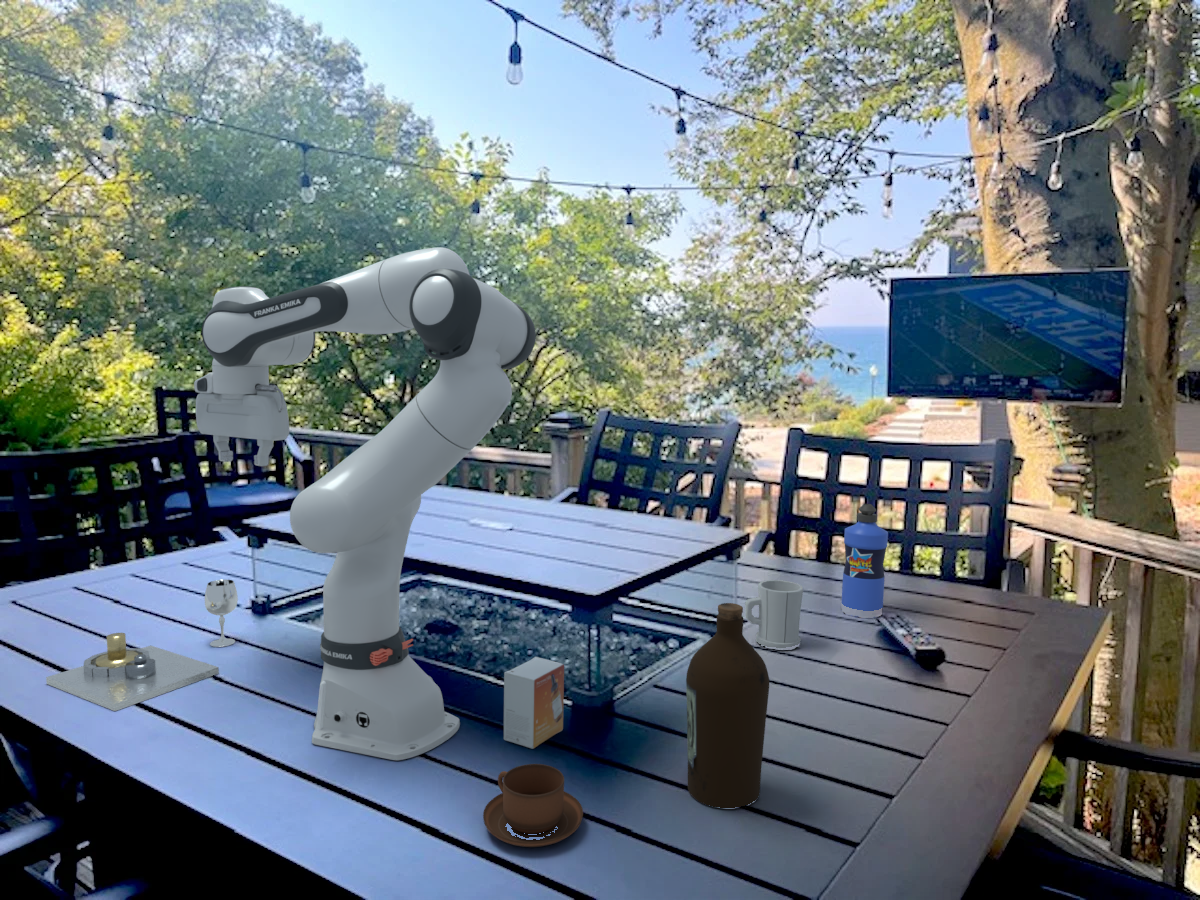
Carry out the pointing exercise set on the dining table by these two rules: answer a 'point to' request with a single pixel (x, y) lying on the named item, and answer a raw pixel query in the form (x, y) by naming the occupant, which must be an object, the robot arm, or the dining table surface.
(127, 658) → the brass flanged cylinder
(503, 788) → the cup and saucer
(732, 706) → the olive oil
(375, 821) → the dining table surface
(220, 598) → the wineglass
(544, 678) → the small box
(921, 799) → the dining table surface
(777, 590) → the cup
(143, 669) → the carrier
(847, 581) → the water bottle
